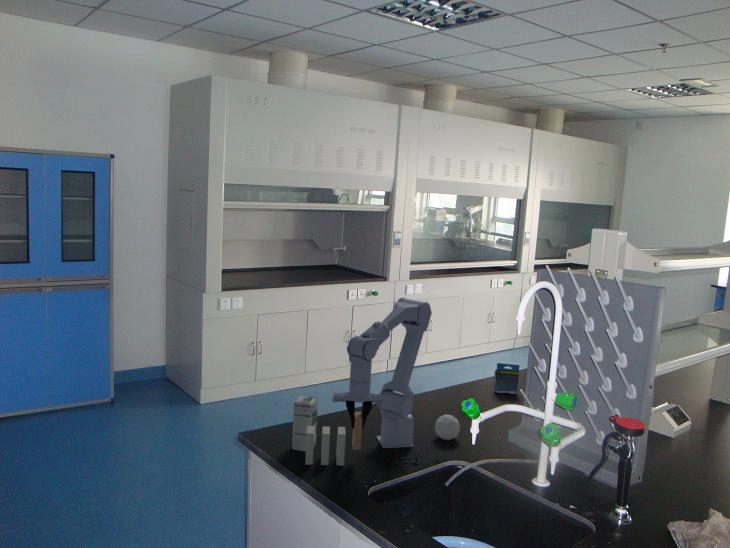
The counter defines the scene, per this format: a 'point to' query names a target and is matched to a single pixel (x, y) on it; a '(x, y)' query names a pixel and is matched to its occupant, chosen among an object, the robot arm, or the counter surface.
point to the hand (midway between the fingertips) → (357, 427)
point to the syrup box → (304, 421)
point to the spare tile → (357, 431)
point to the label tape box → (506, 377)
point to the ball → (447, 427)
